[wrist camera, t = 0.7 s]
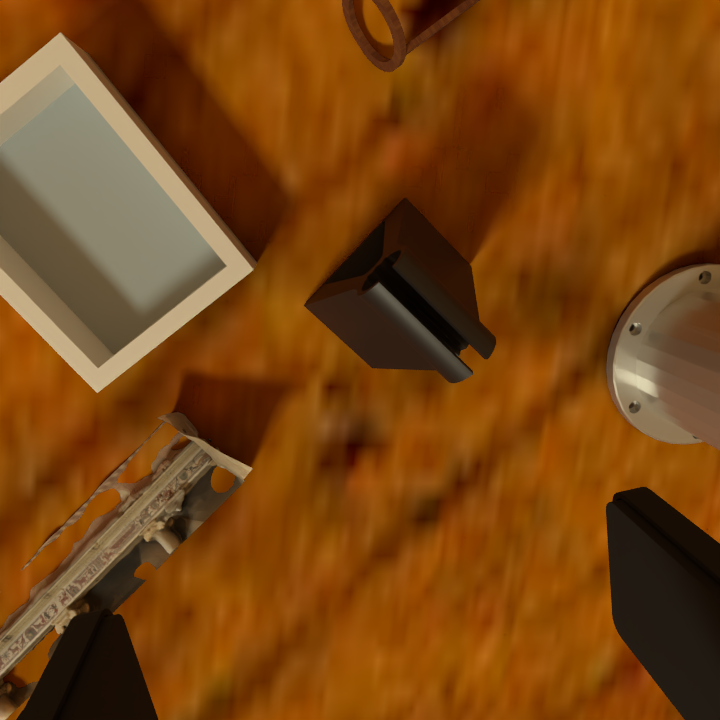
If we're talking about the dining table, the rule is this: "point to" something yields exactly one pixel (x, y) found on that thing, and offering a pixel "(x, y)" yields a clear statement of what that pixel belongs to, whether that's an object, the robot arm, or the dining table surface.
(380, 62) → the glasses
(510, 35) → the dining table surface
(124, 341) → the cream rectangular tray
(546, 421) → the dining table surface
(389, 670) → the dining table surface
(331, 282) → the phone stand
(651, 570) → the robot arm
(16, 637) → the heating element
